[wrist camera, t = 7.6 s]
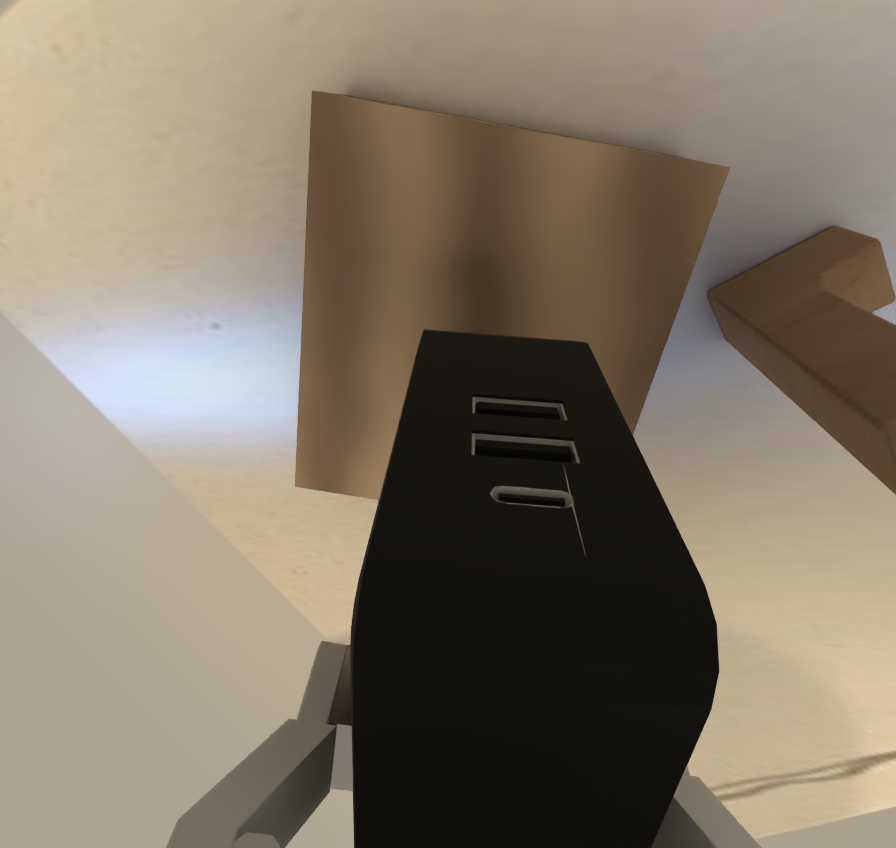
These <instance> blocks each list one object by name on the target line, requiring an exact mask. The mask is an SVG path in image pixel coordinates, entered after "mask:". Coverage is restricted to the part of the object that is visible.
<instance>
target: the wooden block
mask: <svg viewBox="0 0 896 848" xmlns="http://www.w3.org/2000/svg"><path fill="white" fill-rule="evenodd" d="M708 298H709V300H710V303H711V305H712V307H713V310H714V312H715V315H716V317H717V319H718V322H719V324H720V327H721V329H722V331H723V334H724V336H725V339H726V341H727V342H729V343H730V344H731V345H732V346H733V347H734V348H735V349H736V350H737V351H738V352H740V353H741V354H742V355H743V356H744V357H745V358H746V359H747V360H748V361H750V362H751V363H752V364H753V365H754V366H755V367H756V368H757V369H758V370H759V371H761V372H762V373H763V374H764V375H765V376H766V377H767V378H768V379H769V380H770V381H772V382H773V383H774V384H775V385H776V386H777V387H778V388H779V389H780V390H781V391H783V392H784V393H785V394H786V395H787V396H788V397H789V398H790V399H791V400H792V401H794V402H795V403H796V404H797V405H798V406H799V407H800V408H801V409H802V410H803V411H805V412H806V413H807V414H808V415H809V416H810V417H811V418H812V419H813V420H814V421H816V422H817V423H818V424H819V425H820V426H821V427H822V428H823V429H824V430H825V431H827V432H828V433H829V434H830V435H831V436H832V437H833V438H834V439H835V440H836V441H837V442H839V443H840V444H841V445H842V446H843V447H844V448H845V449H846V450H847V451H848V452H850V453H851V454H852V455H853V456H854V457H855V458H856V459H857V460H858V461H859V462H861V463H862V464H863V465H864V466H865V467H866V468H867V469H868V470H869V471H870V472H872V473H873V474H874V475H875V476H876V477H877V478H878V479H879V480H880V481H881V482H883V483H884V484H885V485H886V486H887V487H888V488H889V489H890V490H891V491H892V492H894V493H895V494H896V325H894V324H892V323H890V322H888V321H886V320H884V319H882V318H880V317H878V316H876V315H874V314H872V313H871V312H873V311H875V310H877V309H879V308H881V307H883V306H886V305H888V304H890V303H892V302H893V301H894V300H895V295H894V291H893V287H892V284H891V280H890V276H889V273H888V269H887V265H886V262H885V258H884V254H883V251H882V247H881V243H880V241H879V240H878V239H876V238H872V237H869V236H866V235H863V234H860V233H857V232H853V231H850V230H847V229H844V228H841V227H837V226H834V227H831V228H829V229H827V230H825V231H823V232H821V233H820V234H818V235H816V236H814V237H812V238H810V239H808V240H806V241H804V242H802V243H800V244H798V245H796V246H794V247H792V248H790V249H789V250H787V251H785V252H783V253H781V254H779V255H777V256H775V257H773V258H771V259H769V260H767V261H765V262H764V263H762V264H760V265H758V266H756V267H754V268H752V269H750V270H748V271H746V272H744V273H742V274H741V275H739V276H737V277H735V278H733V279H731V280H729V281H727V282H725V283H723V284H721V285H719V286H718V287H716V288H714V289H712V290H710V291H709V292H708Z"/></svg>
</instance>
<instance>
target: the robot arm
mask: <svg viewBox="0 0 896 848" xmlns="http://www.w3.org/2000/svg"><path fill="white" fill-rule="evenodd" d="M330 789H340V790H349V791H353V766H352V720H351V674H350V645H345V644H339V643H332V642H326V641H321V644H320V645H319V647H318V650H317V653H316V656H315V660H314V663H313V666H312V670H311V673H310V677H309V680H308V683H307V686H306V690H305V693H304V696H303V700H302V703H301V706H300V710H299V713H298V716H297V720H295V719H288V720H287V721H285V722H284V723H283V724H282V725H281V726H280V727H279V728H278V729H277V730H276V731H275V732H273V733H272V734H271V735H270V736H269V737H268V738H267V739H266V740H265V741H264V742H262V743H261V744H260V745H259V746H258V747H257V748H256V749H255V750H254V751H253V752H252V753H250V754H249V755H248V756H247V757H246V758H245V759H244V760H243V761H242V762H241V763H240V764H238V765H237V766H236V767H235V768H234V769H233V770H232V771H231V772H230V773H229V774H227V775H226V776H225V777H224V778H223V779H222V780H221V781H220V782H219V783H218V784H217V785H215V786H214V787H213V788H212V789H211V790H210V791H209V792H208V793H207V794H206V795H204V796H203V797H202V798H201V799H200V800H199V801H198V802H197V803H196V804H195V805H194V806H192V807H191V808H190V809H189V810H188V811H187V812H186V813H185V814H184V815H183V816H181V817H180V818H179V819H178V821H177V823H176V826H175V828H174V830H173V833H172V835H171V837H170V840H169V842H168V844H167V847H166V848H285V846H286V845H287V844H288V843H289V842H290V840H291V839H292V838H293V836H295V834H296V833H297V832H298V831H299V829H300V828H301V827H302V826H303V824H304V823H305V822H306V821H307V819H308V818H309V817H310V816H311V814H312V813H313V812H314V811H315V809H316V808H317V807H318V806H319V804H320V803H321V802H322V801H323V799H324V798H325V797H326V796H327V794H328V793H329V792H330ZM651 848H761V847H760V845H759V844H758V843H757V842H756V841H755V840H754V839H753V838H752V836H751V835H750V834H749V833H748V832H747V831H746V830H745V829H744V828H743V826H742V825H741V824H740V823H739V822H738V821H737V820H736V819H735V817H734V816H733V815H732V814H731V813H730V812H729V811H728V810H727V809H726V807H725V806H724V805H723V804H722V803H721V802H720V801H719V800H718V798H717V797H716V796H715V795H714V794H713V793H712V792H711V791H710V789H709V788H708V787H707V786H706V785H705V784H704V783H703V782H702V781H701V779H700V778H699V777H696V776H691V775H690V773H689V770H688V767H687V766H686V769H685V771H684V773H683V776H682V778H681V780H680V782H679V785H678V787H677V789H676V792H675V794H674V796H673V799H672V801H671V803H670V805H669V808H668V810H667V812H666V815H665V817H664V819H663V821H662V824H661V826H660V828H659V831H658V833H657V835H656V838H655V840H654V842H653V844H652V847H651Z"/></svg>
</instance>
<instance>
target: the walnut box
mask: <svg viewBox="0 0 896 848" xmlns="http://www.w3.org/2000/svg"><path fill="white" fill-rule="evenodd" d="M728 171H729V168H728V167H724V166H719V165H714V164H710V163H705V162H701V161H696V160H691V159H687V158H682V157H677V156H671V155H666V154H661V153H655V152H650V151H644V150H639V149H633V148H628V147H623V146H617V145H612V144H606V143H601V142H596V141H590V140H585V139H579V138H574V137H569V136H563V135H558V134H552V133H547V132H541V131H536V130H531V129H525V128H520V127H514V126H509V125H504V124H498V123H493V122H487V121H482V120H477V119H471V118H466V117H460V116H455V115H450V114H444V113H439V112H433V111H428V110H422V109H417V108H412V107H406V106H401V105H395V104H390V103H385V102H379V101H374V100H368V99H363V98H358V97H352V96H347V95H340V94H333V93H326V92H318V91H312V105H311V128H310V151H309V174H308V197H307V220H306V243H305V266H304V289H303V312H302V335H301V358H300V381H299V404H298V427H297V451H296V474H295V487H300V488H307V489H313V490H319V491H326V492H332V493H339V494H345V495H351V496H358V497H364V498H370V499H377V500H379V498H380V494H381V490H382V486H383V482H384V479H385V475H386V471H387V467H388V463H389V459H390V455H391V451H392V447H393V443H394V439H395V435H396V431H397V427H398V423H399V420H400V416H401V412H402V408H403V404H404V400H405V396H406V392H407V388H408V384H409V380H410V376H411V372H412V368H413V365H414V361H415V357H416V353H417V349H418V345H419V342H420V339H421V336H422V333H423V330H424V329H427V330H440V331H453V332H466V333H478V334H491V335H504V336H517V337H530V338H543V339H556V340H569V341H582V342H586V343H588V344H589V346H590V348H591V350H592V353H593V355H594V357H595V359H596V361H597V363H598V365H599V367H600V369H601V371H602V373H603V375H604V377H605V379H606V381H607V384H608V386H609V388H610V390H611V392H612V394H613V396H614V398H615V400H616V402H617V404H618V406H619V408H620V410H621V413H622V415H623V417H624V419H625V421H626V423H627V425H628V427H629V429H630V431H631V433H632V435H633V433H634V430H635V427H636V424H637V422H638V419H639V416H640V413H641V411H642V408H643V405H644V402H645V400H646V397H647V394H648V391H649V389H650V386H651V383H652V380H653V378H654V375H655V372H656V369H657V366H658V364H659V361H660V358H661V355H662V353H663V350H664V347H665V344H666V342H667V339H668V336H669V333H670V331H671V328H672V325H673V322H674V320H675V317H676V314H677V311H678V309H679V306H680V303H681V300H682V298H683V295H684V292H685V289H686V287H687V284H688V281H689V278H690V276H691V273H692V270H693V267H694V265H695V262H696V259H697V256H698V254H699V251H700V248H701V245H702V243H703V240H704V237H705V234H706V232H707V229H708V226H709V223H710V221H711V218H712V215H713V212H714V210H715V207H716V204H717V201H718V199H719V196H720V193H721V190H722V188H723V185H724V182H725V179H726V176H727V174H728Z"/></svg>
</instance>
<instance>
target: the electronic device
mask: <svg viewBox="0 0 896 848" xmlns="http://www.w3.org/2000/svg"><path fill="white" fill-rule="evenodd" d="M350 674H351V720H352V766H353V811H354V848H651V847H652V844H653V842H654V840H655V838H656V835H657V833H658V831H659V828H660V826H661V824H662V821H663V819H664V817H665V815H666V812H667V810H668V808H669V805H670V803H671V801H672V799H673V796H674V794H675V792H676V789H677V787H678V785H679V782H680V780H681V778H682V776H683V773H684V771H685V769H686V766H687V764H688V762H689V759H690V757H691V755H692V753H693V750H694V748H695V746H696V743H697V741H698V739H699V737H700V734H701V732H702V730H703V727H704V725H705V723H706V720H707V718H708V716H709V714H710V711H711V708H712V703H713V698H714V694H715V689H716V684H717V679H718V675H719V659H718V641H717V624H716V620H715V617H714V614H713V610H712V607H711V604H710V600H709V597H708V594H707V590H706V587H705V584H704V582H703V580H702V578H701V576H700V574H699V572H698V570H697V568H696V566H695V564H694V562H693V559H692V557H691V555H690V553H689V551H688V549H687V547H686V545H685V543H684V541H683V539H682V537H681V535H680V533H679V530H678V528H677V526H676V524H675V522H674V520H673V518H672V516H671V514H670V512H669V510H668V508H667V506H666V504H665V502H664V499H663V497H662V495H661V493H660V491H659V489H658V487H657V485H656V483H655V481H654V479H653V477H652V475H651V473H650V470H649V468H648V466H647V464H646V462H645V460H644V458H643V456H642V454H641V452H640V450H639V448H638V446H637V444H636V442H635V439H634V437H633V435H632V433H631V431H630V429H629V427H628V425H627V423H626V421H625V419H624V417H623V415H622V413H621V410H620V408H619V406H618V404H617V402H616V400H615V398H614V396H613V394H612V392H611V390H610V388H609V386H608V384H607V381H606V379H605V377H604V375H603V373H602V371H601V369H600V367H599V365H598V363H597V361H596V359H595V357H594V355H593V353H592V350H591V348H590V346H589V344H588V343H586V342H582V341H569V340H556V339H543V338H530V337H517V336H504V335H491V334H478V333H466V332H453V331H440V330H427V329H424V330H423V333H422V336H421V339H420V342H419V345H418V349H417V353H416V357H415V361H414V365H413V368H412V372H411V376H410V380H409V384H408V388H407V392H406V396H405V400H404V404H403V408H402V412H401V416H400V420H399V423H398V427H397V431H396V435H395V439H394V443H393V447H392V451H391V455H390V459H389V463H388V467H387V471H386V475H385V479H384V482H383V486H382V490H381V494H380V498H379V502H378V506H377V510H376V514H375V518H374V522H373V526H372V530H371V534H370V537H369V541H368V545H367V549H366V553H365V557H364V561H363V565H362V569H361V573H360V577H359V581H358V586H357V591H356V597H355V602H354V609H353V617H352V625H351V643H350Z"/></svg>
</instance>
